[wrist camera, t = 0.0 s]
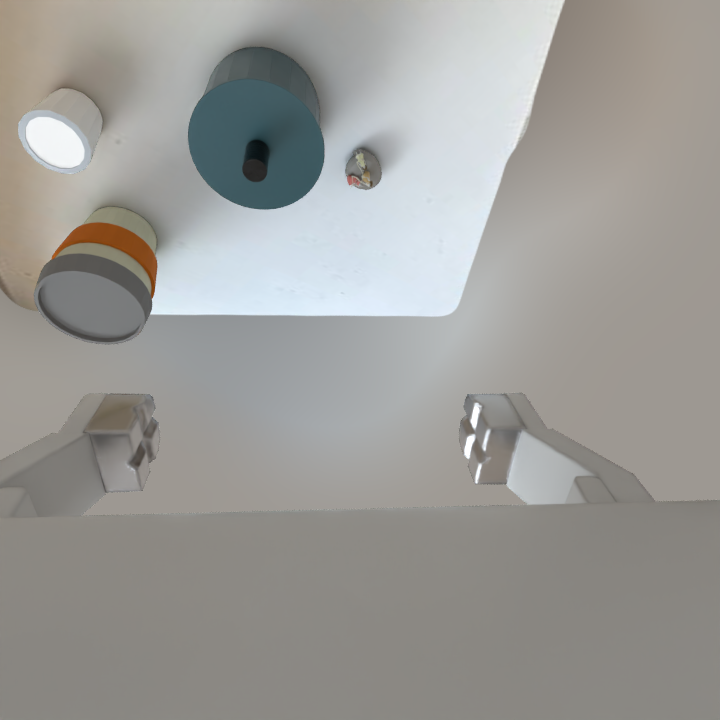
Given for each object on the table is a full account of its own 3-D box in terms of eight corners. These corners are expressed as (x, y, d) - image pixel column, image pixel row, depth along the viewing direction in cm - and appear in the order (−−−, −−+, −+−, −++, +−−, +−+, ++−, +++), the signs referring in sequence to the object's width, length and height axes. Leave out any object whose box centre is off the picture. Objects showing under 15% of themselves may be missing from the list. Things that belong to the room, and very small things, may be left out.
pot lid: (241, 39, 44) (235, 60, 40) (351, 142, 51) (353, 167, 48) (164, 148, 51) (153, 174, 47) (271, 225, 58) (268, 252, 55)
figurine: (384, 176, 64) (388, 202, 60) (351, 186, 65) (354, 212, 61) (373, 138, 60) (377, 163, 56) (339, 149, 61) (340, 174, 57)
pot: (250, 17, 50) (241, 51, 44) (341, 106, 57) (344, 145, 51) (185, 111, 57) (170, 151, 50) (274, 180, 64) (270, 223, 58)
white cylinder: (87, 76, 53) (66, 104, 49) (120, 138, 58) (104, 169, 54) (27, 88, 54) (1, 116, 49) (65, 148, 59) (44, 179, 54)
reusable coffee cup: (146, 188, 63) (116, 262, 54) (184, 264, 73) (164, 339, 63) (52, 201, 64) (5, 276, 54) (102, 275, 74) (70, 351, 64)
